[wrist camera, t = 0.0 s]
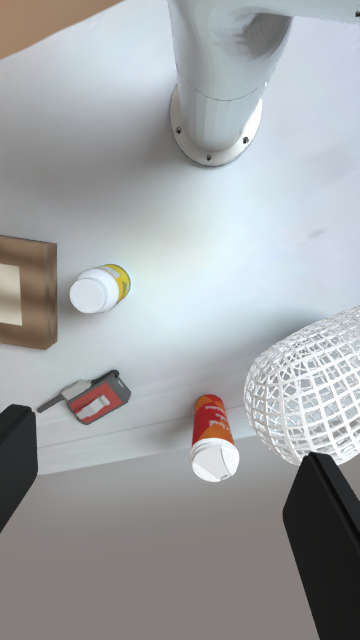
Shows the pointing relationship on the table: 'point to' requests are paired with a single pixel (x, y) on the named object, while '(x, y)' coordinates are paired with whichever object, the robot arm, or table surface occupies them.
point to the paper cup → (212, 441)
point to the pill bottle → (100, 288)
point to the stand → (28, 292)
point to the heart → (349, 447)
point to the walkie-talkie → (93, 397)
